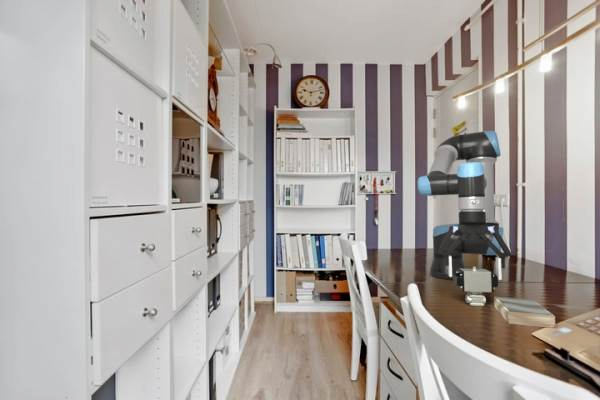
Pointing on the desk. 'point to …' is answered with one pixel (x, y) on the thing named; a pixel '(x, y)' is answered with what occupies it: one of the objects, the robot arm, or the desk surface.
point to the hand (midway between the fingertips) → (474, 277)
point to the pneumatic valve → (475, 284)
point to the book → (523, 312)
